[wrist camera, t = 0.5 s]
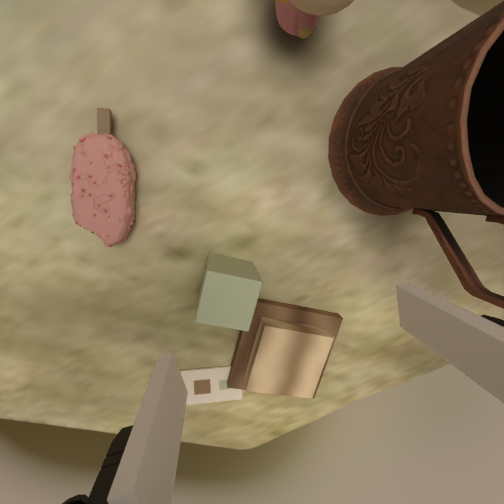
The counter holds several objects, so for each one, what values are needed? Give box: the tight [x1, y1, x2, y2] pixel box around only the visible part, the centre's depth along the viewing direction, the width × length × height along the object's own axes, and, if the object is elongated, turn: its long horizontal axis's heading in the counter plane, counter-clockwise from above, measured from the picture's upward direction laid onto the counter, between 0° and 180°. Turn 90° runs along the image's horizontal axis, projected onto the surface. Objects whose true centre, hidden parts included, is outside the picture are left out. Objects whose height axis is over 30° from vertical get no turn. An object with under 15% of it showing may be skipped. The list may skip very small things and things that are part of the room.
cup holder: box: [328, 1, 504, 309], centre depth 22 cm, size 18×24×25 cm
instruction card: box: [180, 366, 242, 405], centre depth 38 cm, size 9×6×1 cm, turn 90°
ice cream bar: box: [70, 108, 136, 247], centre depth 28 cm, size 6×4×15 cm
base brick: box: [227, 298, 343, 399], centre depth 37 cm, size 14×14×4 cm
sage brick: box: [195, 253, 262, 332], centre depth 31 cm, size 6×6×8 cm
